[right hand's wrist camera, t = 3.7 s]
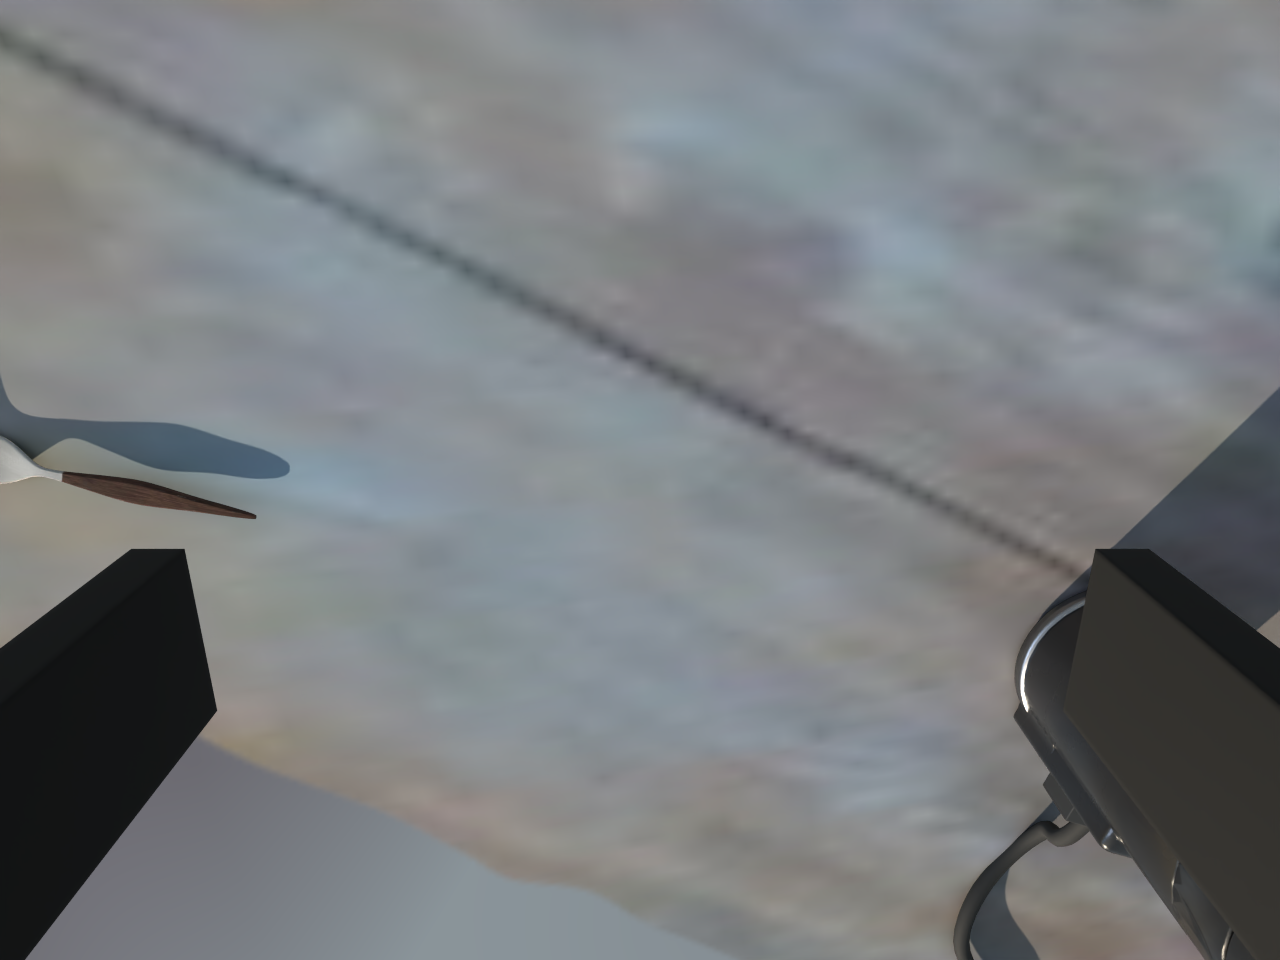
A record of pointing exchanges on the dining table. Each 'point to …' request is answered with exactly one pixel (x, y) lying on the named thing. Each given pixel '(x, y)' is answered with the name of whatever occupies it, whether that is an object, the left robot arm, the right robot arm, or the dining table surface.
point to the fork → (109, 485)
